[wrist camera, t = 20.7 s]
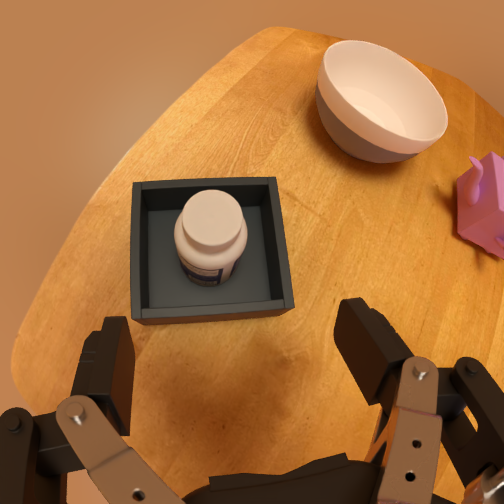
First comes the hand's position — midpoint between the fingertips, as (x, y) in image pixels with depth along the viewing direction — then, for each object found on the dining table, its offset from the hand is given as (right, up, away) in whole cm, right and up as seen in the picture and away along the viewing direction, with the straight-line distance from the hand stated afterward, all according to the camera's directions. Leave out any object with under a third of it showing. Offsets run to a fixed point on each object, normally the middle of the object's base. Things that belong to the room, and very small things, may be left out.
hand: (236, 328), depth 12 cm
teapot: (+32, +7, +27) cm, 42 cm away
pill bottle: (-3, +2, +19) cm, 19 cm away
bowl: (+14, +18, +27) cm, 36 cm away
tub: (-4, +2, +19) cm, 20 cm away
